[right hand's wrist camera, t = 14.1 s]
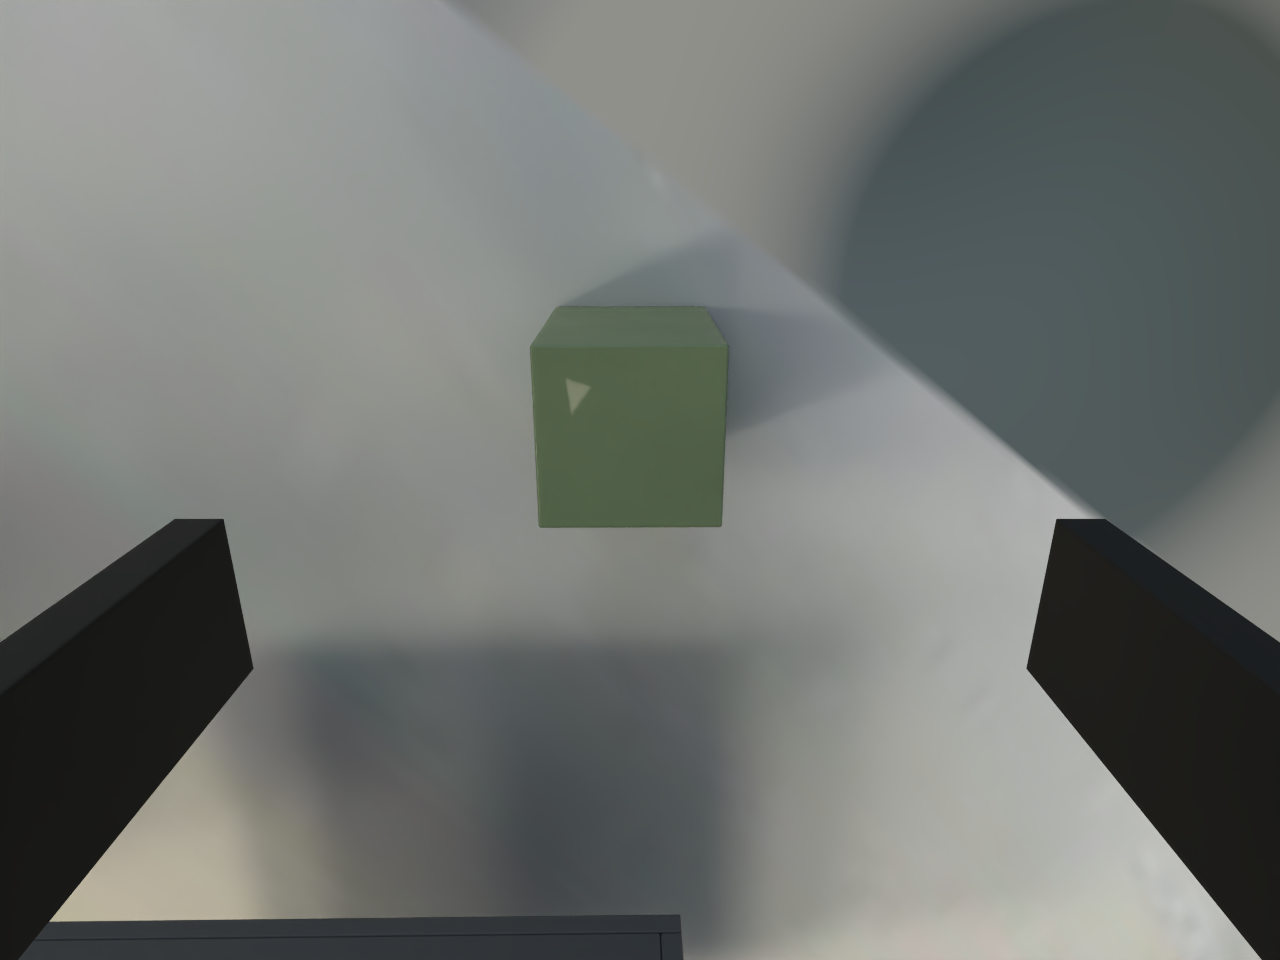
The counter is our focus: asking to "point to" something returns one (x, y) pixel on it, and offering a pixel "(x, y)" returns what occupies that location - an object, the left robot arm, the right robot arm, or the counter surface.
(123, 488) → the counter surface
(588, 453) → the sage block
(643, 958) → the tray
